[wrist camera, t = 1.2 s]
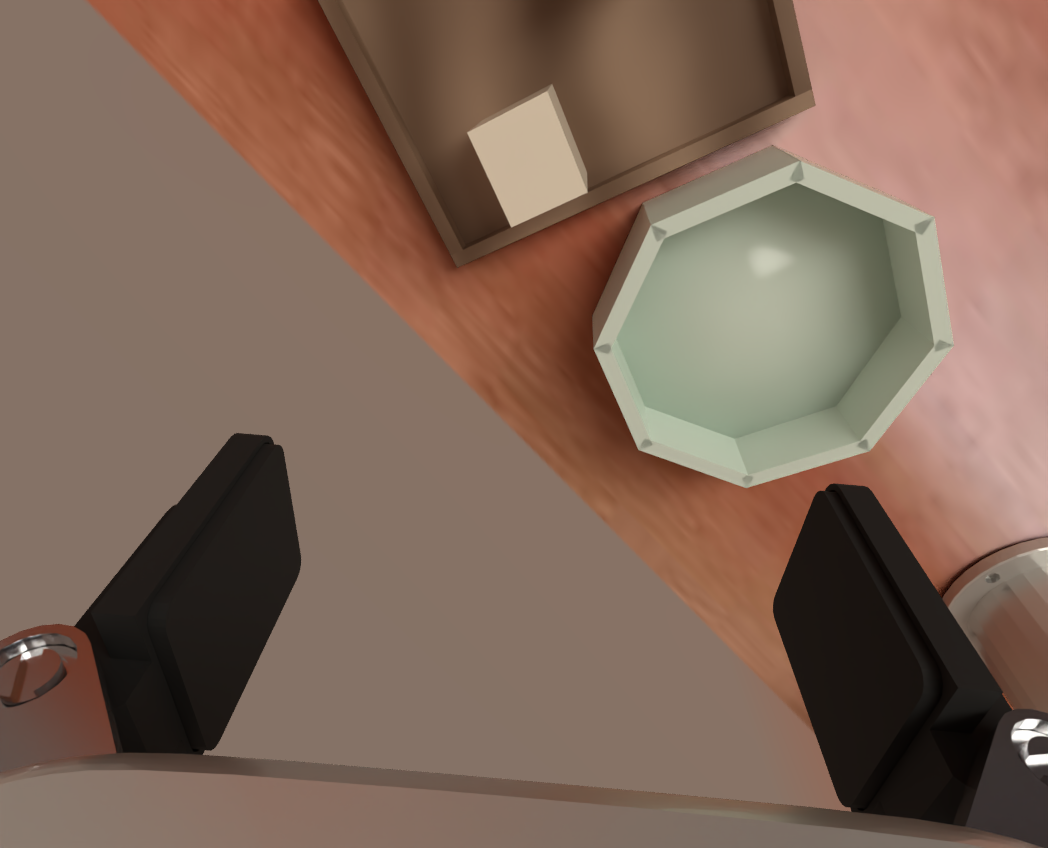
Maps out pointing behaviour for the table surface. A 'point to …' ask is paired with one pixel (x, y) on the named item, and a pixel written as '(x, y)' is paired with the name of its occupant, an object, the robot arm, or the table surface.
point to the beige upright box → (530, 156)
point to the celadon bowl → (771, 318)
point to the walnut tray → (567, 89)
